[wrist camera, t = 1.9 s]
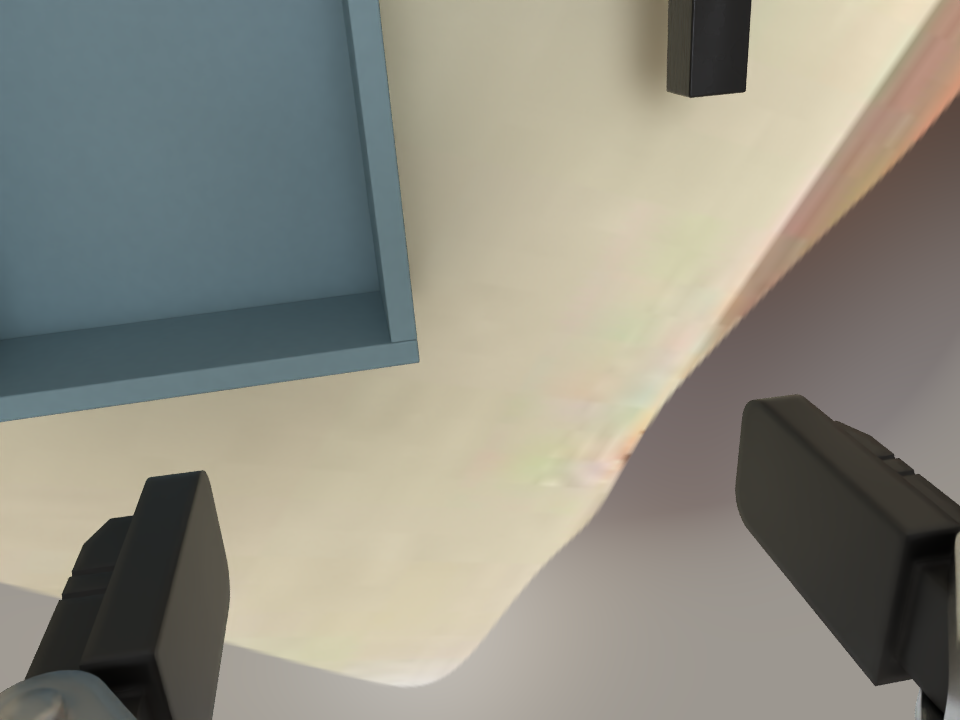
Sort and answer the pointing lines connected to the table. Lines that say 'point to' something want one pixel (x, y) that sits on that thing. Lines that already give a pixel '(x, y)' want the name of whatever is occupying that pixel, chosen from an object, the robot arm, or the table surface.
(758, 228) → the table surface
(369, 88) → the basin
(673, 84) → the pan
